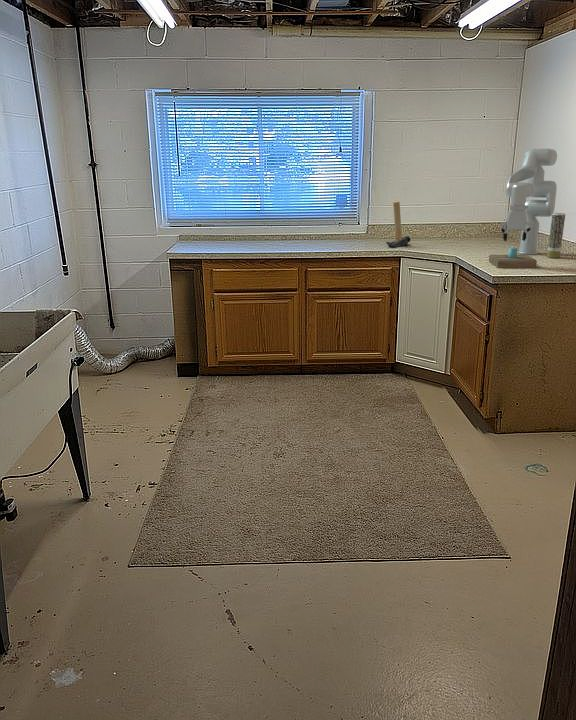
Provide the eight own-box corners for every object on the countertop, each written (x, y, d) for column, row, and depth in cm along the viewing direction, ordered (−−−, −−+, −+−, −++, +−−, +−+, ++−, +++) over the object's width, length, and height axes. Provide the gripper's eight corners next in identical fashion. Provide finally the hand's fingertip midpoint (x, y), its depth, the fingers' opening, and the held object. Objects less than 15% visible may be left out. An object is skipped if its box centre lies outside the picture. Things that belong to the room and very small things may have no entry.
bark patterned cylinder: (560, 258, 343) (566, 214, 335) (548, 258, 344) (554, 214, 336) (558, 256, 349) (563, 213, 341) (545, 256, 350) (551, 213, 342)
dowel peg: (506, 264, 329) (508, 247, 326) (514, 264, 328) (516, 247, 326) (508, 265, 325) (510, 248, 322) (516, 265, 324) (518, 248, 321)
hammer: (392, 251, 393) (389, 205, 380) (386, 250, 397) (383, 205, 383) (410, 242, 405) (408, 198, 392) (404, 241, 408) (402, 197, 395)
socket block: (488, 261, 337) (489, 254, 336) (525, 261, 335) (525, 254, 334) (497, 267, 318) (498, 260, 317) (535, 267, 316) (536, 260, 315)
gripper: (532, 207, 320) (528, 239, 326) (499, 207, 321) (496, 239, 327) (536, 208, 313) (532, 241, 319) (502, 209, 314) (499, 241, 320)
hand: (514, 240), depth 323 cm, fingers open, 9 cm apart
